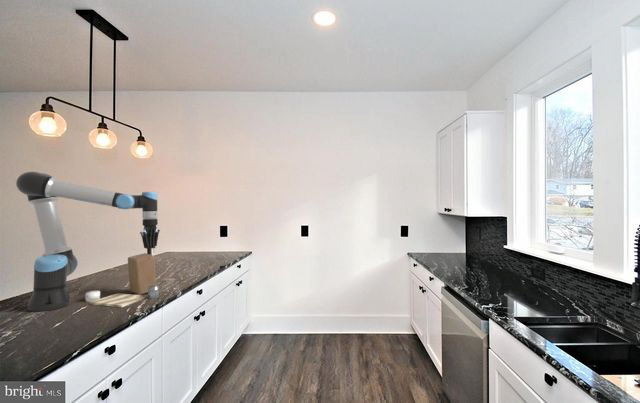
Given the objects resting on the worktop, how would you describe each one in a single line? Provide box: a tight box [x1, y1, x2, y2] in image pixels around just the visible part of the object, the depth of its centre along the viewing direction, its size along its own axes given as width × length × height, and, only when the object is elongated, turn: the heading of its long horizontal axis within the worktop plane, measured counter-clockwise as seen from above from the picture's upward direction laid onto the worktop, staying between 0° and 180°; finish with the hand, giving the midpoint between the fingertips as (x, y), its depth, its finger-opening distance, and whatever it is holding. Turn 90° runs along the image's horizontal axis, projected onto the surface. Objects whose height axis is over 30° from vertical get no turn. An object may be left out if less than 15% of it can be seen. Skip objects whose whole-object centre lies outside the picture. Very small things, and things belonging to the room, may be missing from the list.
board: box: [89, 292, 148, 308], centre depth 153 cm, size 18×16×1 cm
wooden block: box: [127, 252, 157, 295], centre depth 167 cm, size 10×10×20 cm
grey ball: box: [147, 284, 160, 300], centre depth 160 cm, size 5×5×6 cm
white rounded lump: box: [84, 290, 101, 303], centre depth 154 cm, size 6×6×4 cm
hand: (150, 259), depth 173 cm, fingers closed
